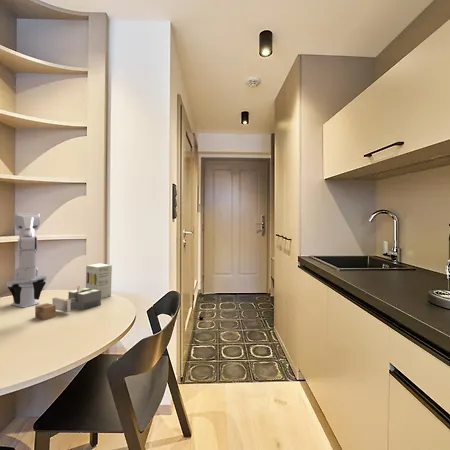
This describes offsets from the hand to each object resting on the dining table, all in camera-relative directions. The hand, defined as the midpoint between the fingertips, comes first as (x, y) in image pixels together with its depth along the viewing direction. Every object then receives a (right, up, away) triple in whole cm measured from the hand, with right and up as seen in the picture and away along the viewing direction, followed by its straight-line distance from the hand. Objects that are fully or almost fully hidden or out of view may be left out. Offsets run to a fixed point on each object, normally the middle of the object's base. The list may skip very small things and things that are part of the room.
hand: (27, 301), depth 125 cm
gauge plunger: (+8, -7, +18) cm, 21 cm away
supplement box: (+11, -8, +42) cm, 44 cm away
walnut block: (+3, -9, +7) cm, 12 cm away
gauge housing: (+12, -8, +25) cm, 29 cm away
